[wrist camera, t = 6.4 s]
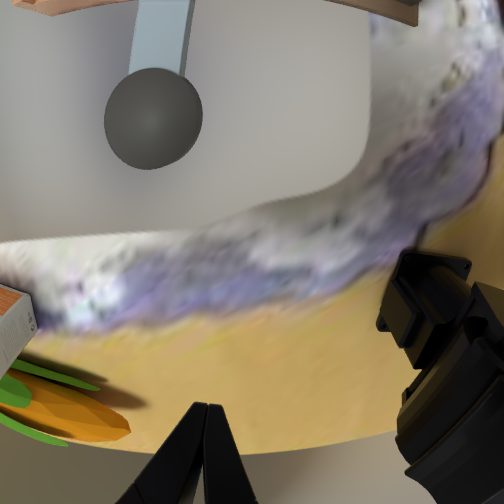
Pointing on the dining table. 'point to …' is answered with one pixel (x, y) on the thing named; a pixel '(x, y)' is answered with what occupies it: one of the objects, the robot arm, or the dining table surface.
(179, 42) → the lever
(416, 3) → the seesaw base
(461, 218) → the dining table surface
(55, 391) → the corn
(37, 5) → the ceramic dish
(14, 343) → the skincare box
